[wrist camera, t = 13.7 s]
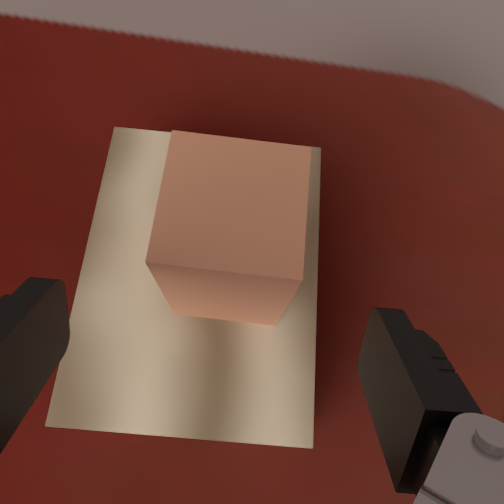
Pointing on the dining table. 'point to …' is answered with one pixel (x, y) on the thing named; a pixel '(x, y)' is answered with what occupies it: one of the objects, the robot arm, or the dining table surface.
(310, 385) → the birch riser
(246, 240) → the terracotta block
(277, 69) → the dining table surface
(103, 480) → the dining table surface
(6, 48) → the dining table surface
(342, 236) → the dining table surface
